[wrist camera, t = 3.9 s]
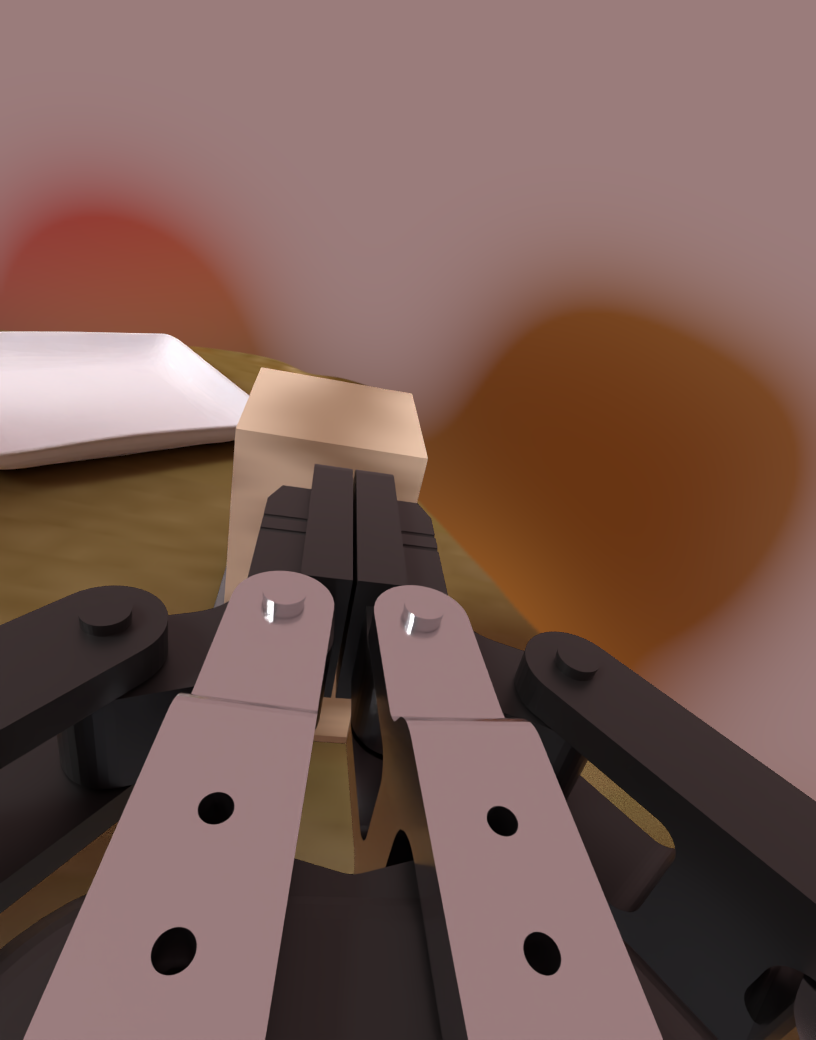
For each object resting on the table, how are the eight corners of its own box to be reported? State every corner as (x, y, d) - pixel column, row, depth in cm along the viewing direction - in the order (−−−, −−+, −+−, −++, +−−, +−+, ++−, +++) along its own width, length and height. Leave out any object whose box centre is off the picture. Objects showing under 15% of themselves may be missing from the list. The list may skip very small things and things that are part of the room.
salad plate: (279, 454, 49) (283, 415, 47) (-36, 504, 35) (-46, 452, 34) (170, 363, 61) (170, 329, 59) (-96, 373, 47) (-105, 330, 46)
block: (215, 734, 25) (235, 428, 18) (238, 635, 30) (261, 367, 23) (357, 744, 26) (427, 458, 19) (356, 647, 31) (412, 393, 24)
